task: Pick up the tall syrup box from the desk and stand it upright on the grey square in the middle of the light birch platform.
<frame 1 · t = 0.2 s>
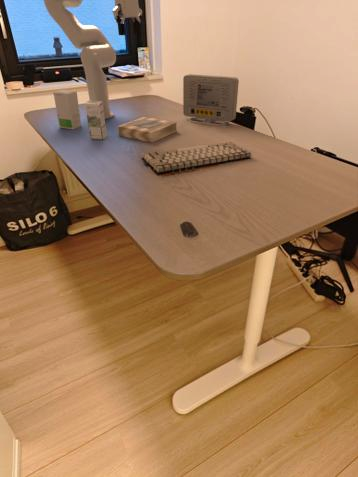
hand: (129, 34, 140), 36 cm above the table, tool pointing down, fingers open, 9 cm apart
skincare box: (71, 127, 157), on the table
syrup box: (98, 138, 143), on the table
birch platform: (148, 133, 147), on the table
block: (188, 232, 82), on the table
mechanical keyboard: (196, 161, 122), on the table
network device: (208, 122, 162), on the table
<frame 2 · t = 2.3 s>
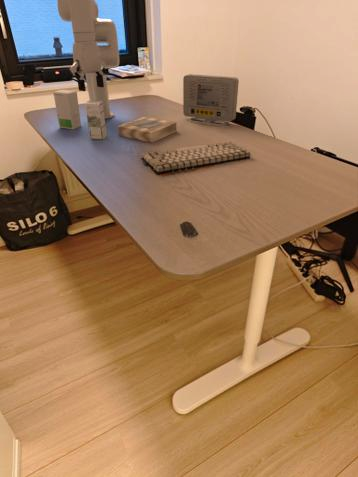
hand: (91, 88, 131), 19 cm above the table, tool pointing down, fingers open, 9 cm apart
nothing on the table moved.
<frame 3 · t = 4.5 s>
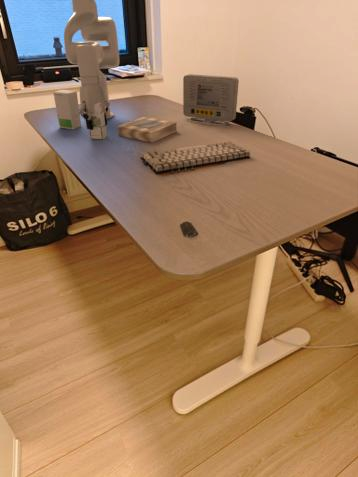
hand: (97, 126, 140), 5 cm above the table, tool pointing down, fingers closed on syrup box, 7 cm apart
syrup box: (98, 138, 143), on the table, touching gripper
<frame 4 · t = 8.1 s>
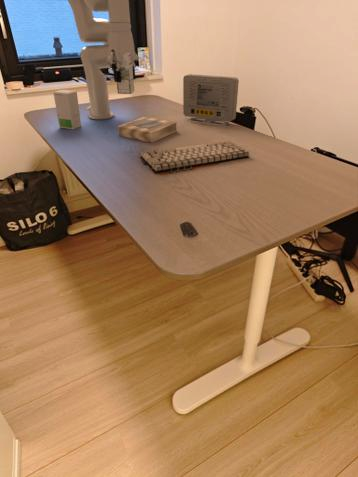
hand: (125, 80, 133), 22 cm above the table, tool pointing down, fingers closed on syrup box, 7 cm apart
syrup box: (126, 93, 136), point 17 cm above the table, touching gripper
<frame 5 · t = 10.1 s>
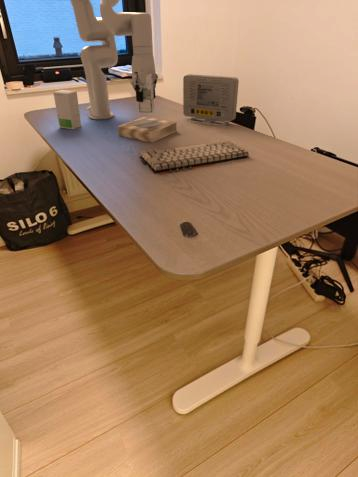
hand: (146, 99, 139), 14 cm above the table, tool pointing down, fingers closed on syrup box, 7 cm apart
syrup box: (147, 111, 142), point 9 cm above the table, touching gripper
when the fingers open (10 cm above the table, at t = 11.8 s): syrup box drops 1 cm, resting on birch platform.
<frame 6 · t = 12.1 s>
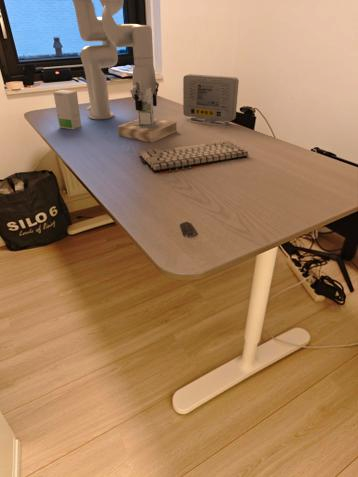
hand: (146, 108, 141), 11 cm above the table, tool pointing down, fingers open, 9 cm apart
syrup box: (146, 124, 145), point 4 cm above the table, touching birch platform
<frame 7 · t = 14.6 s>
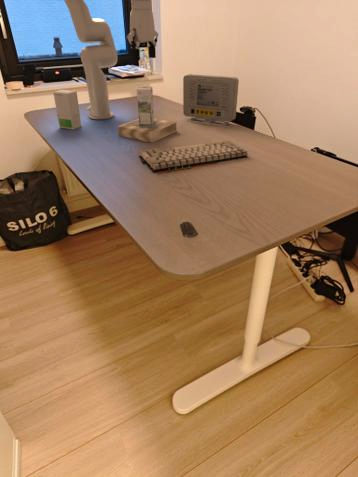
hand: (144, 59, 133), 29 cm above the table, tool pointing down, fingers open, 9 cm apart
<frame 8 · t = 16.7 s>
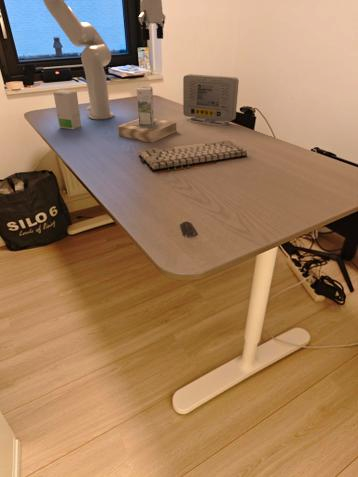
hand: (153, 39, 146), 34 cm above the table, tool pointing down, fingers open, 9 cm apart
at the end: syrup box inside the target area on the birch platform (0.3 cm from its centre), point 4.0 cm above the birch platform's base; syrup box tilted 0°; the gripper is holding nothing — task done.
